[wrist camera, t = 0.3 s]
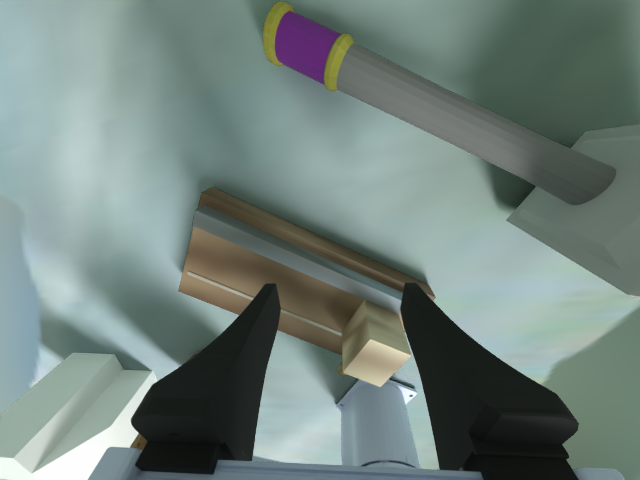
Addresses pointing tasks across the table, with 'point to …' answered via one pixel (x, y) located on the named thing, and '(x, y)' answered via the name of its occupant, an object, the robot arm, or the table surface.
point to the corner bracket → (71, 419)
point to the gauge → (373, 344)
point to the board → (283, 270)
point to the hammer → (493, 147)
